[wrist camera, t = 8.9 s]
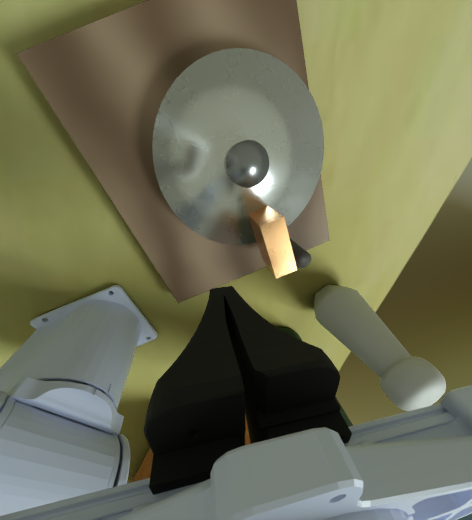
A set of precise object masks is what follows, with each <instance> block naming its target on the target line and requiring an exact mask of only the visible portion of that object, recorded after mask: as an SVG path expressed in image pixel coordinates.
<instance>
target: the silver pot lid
mask: <svg viewBox="0 0 472 520" xmlns="http://www.w3.org/2000/svg"><path fill="white" fill-rule="evenodd" d="M152 151H153V163H154V169H155V174H156V177H157V180H158V184H159V187H160V189H161V191H162V193H163V196H164V198H165V199H166V201H167V203H168V204H169V206H170V208H171V209H172V210H173V212H174V213H175V214H176V215H177V217H178V218H179V219H180V220H181V221H182V222H183V223H184V224H185V225H187V226H188V227H189V228H190V229H192V230H193V231H195V232H196V233H198V234H200V235H201V236H203V237H205V238H208V239H210V240H213V241H216V242H219V243H224V244H232V245H242V244H251V243H256V242H257V244H258V247H259V250H260V253H261V256H262V259H263V260H264V262H265V263H266V265H267V266H268V268H269V269H270V271H271V272H272V273H273V275H274V276H275V278H279V277H281V276H284V275H286V274H289V273H291V272H294V271H296V270H297V267H296V263H295V259H294V255H293V251H292V246H291V242H290V238H289V234H288V230H287V226H288V225H290V224H291V223H292V222H293V221H294V220H295V219H296V218H297V217H298V216H299V215H300V213H301V212H302V211H303V210H304V208H305V207H306V205H307V204H308V202H309V200H310V199H311V197H312V195H313V193H314V191H315V188H316V186H317V183H318V180H319V177H320V173H321V169H322V163H323V156H324V137H323V128H322V123H321V118H320V115H319V112H318V108H317V106H316V103H315V101H314V99H313V97H312V95H311V93H310V91H309V90H308V88H307V86H306V85H305V83H304V82H303V81H302V80H301V79H300V77H299V76H298V75H297V74H296V73H295V72H294V71H293V70H292V69H291V68H290V67H289V66H288V65H286V64H285V63H283V62H282V61H280V60H279V59H277V58H276V57H273V56H271V55H269V54H267V53H264V52H261V51H257V50H253V49H245V48H232V49H223V50H220V51H217V52H213V53H210V54H208V55H206V56H204V57H202V58H200V59H198V60H197V61H195V62H194V63H193V64H191V65H190V66H189V67H187V68H186V69H185V70H184V71H183V72H182V73H181V74H180V75H179V76H178V77H177V78H176V80H175V81H174V82H173V84H172V85H171V87H170V88H169V89H168V91H167V93H166V95H165V97H164V99H163V101H162V103H161V105H160V108H159V111H158V114H157V117H156V121H155V126H154V131H153V142H152Z"/></svg>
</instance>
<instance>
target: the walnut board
mask: <svg viewBox="0 0 472 520" xmlns="http://www.w3.org/2000/svg"><path fill="white" fill-rule="evenodd" d="M232 48H245V49H253V50H257V51H261V52H264V53H267V54H269V55H271V56H273V57H276V58H277V59H279V60H280V61H282V62H283V63H285V64H286V65H288V66H289V67H290V68H291V69H292V70H293V71H294V72H295V73H296V74H297V75H298V76H299V77H300V79H301V80H302V81H303V82H304V83H305V85H306V86H307V88H308V81H307V74H306V66H305V59H304V52H303V45H302V38H301V31H300V23H299V16H298V9H297V2H296V0H147V1H144V2H142V3H139V4H137V5H135V6H132V7H130V8H127V9H125V10H122V11H120V12H117V13H115V14H112V15H110V16H107V17H105V18H102V19H100V20H97V21H95V22H92V23H90V24H88V25H85V26H83V27H80V28H78V29H75V30H73V31H70V32H68V33H65V34H63V35H60V36H58V37H55V38H53V39H50V40H48V41H45V42H43V43H41V44H38V45H36V46H33V47H31V48H28V49H26V50H23V51H21V52H18V53H16V54H17V55H18V57H19V58H20V60H21V62H22V63H23V65H24V66H25V68H26V69H27V71H28V72H29V74H30V75H31V77H32V79H33V80H34V82H35V83H36V85H37V86H38V88H39V89H40V91H41V92H42V94H43V96H44V97H45V99H46V100H47V102H48V103H49V105H50V106H51V108H52V109H53V111H54V112H55V114H56V116H57V117H58V119H59V120H60V122H61V123H62V125H63V126H64V128H65V129H66V131H67V133H68V134H69V136H70V137H71V139H72V140H73V142H74V143H75V145H76V146H77V148H78V149H79V151H80V153H81V154H82V156H83V157H84V159H85V160H86V162H87V163H88V165H89V166H90V168H91V170H92V171H93V173H94V174H95V176H96V177H97V179H98V180H99V182H100V183H101V185H102V187H103V188H104V190H105V191H106V193H107V194H108V196H109V197H110V199H111V200H112V202H113V203H114V205H115V207H116V208H117V210H118V211H119V213H120V214H121V216H122V217H123V219H124V220H125V222H126V224H127V225H128V227H129V228H130V230H131V231H132V233H133V234H134V236H135V237H136V239H137V240H138V242H139V244H140V245H141V247H142V248H143V250H144V251H145V253H146V254H147V256H148V257H149V259H150V261H151V262H152V264H153V265H154V267H155V268H156V270H157V271H158V273H159V274H160V276H161V277H162V279H163V281H164V282H165V284H166V285H167V287H168V288H169V290H170V291H171V293H172V294H173V296H174V298H175V299H176V301H177V302H178V303H179V302H182V301H184V300H187V299H189V298H191V297H194V296H196V295H199V294H201V293H203V292H206V291H208V290H211V289H213V288H216V287H218V286H220V285H223V284H225V283H228V282H230V281H233V280H235V279H237V278H240V277H242V276H245V275H247V274H250V273H252V272H254V271H257V270H259V269H262V268H264V267H267V265H266V263H265V262H264V260H263V259H262V256H261V253H260V250H259V247H258V244H257V242H256V243H251V244H242V245H232V244H224V243H219V242H216V241H213V240H210V239H208V238H205V237H203V236H201V235H200V234H198V233H196V232H195V231H193V230H192V229H190V228H189V227H188V226H187V225H185V224H184V223H183V222H182V221H181V220H180V219H179V218H178V217H177V215H176V214H175V213H174V212H173V210H172V209H171V208H170V206H169V204H168V203H167V201H166V199H165V198H164V196H163V193H162V191H161V189H160V187H159V184H158V180H157V177H156V174H155V169H154V163H153V151H152V142H153V131H154V126H155V121H156V117H157V114H158V111H159V108H160V105H161V103H162V101H163V99H164V97H165V95H166V93H167V91H168V89H169V88H170V87H171V85H172V84H173V82H174V81H175V80H176V78H177V77H178V76H179V75H180V74H181V73H182V72H183V71H184V70H185V69H186V68H187V67H189V66H190V65H191V64H193V63H194V62H195V61H197V60H198V59H200V58H202V57H204V56H206V55H208V54H210V53H213V52H217V51H220V50H223V49H232ZM308 90H309V88H308ZM287 230H288V234H289V238H290V242H291V246H292V251H293V255H294V259H295V263H296V266H297V267H298V268H303V267H306V266H307V265H308V264H309V263H310V261H311V255H310V254H309V253H308V252H307V251H305V250H308V249H310V248H313V247H315V246H317V245H320V244H322V243H325V242H327V241H330V238H329V231H328V224H327V217H326V210H325V203H324V195H323V188H322V181H321V174H320V177H319V180H318V183H317V186H316V188H315V191H314V193H313V195H312V197H311V199H310V200H309V202H308V204H307V205H306V207H305V208H304V210H303V211H302V212H301V213H300V215H299V216H298V217H297V218H296V219H295V220H294V221H293V222H292V223H291V224H290V225H288V226H287Z"/></svg>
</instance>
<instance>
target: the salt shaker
mask: <svg viewBox="0 0 472 520" xmlns="http://www.w3.org/2000/svg"><path fill="white" fill-rule="evenodd" d="M314 310H315V315H316V319H317V320H318V322H319V323H320V324H321V325H322V326H323V327H325V328H326V329H327V330H328V331H329V332H330V333H331V334H333V335H334V336H335V337H336V338H337V339H338V340H339V341H341V342H342V343H343V344H344V345H345V346H346V347H347V348H348V349H349V350H351V351H352V352H353V353H354V354H355V355H356V356H357V357H358V358H360V359H361V360H362V361H363V362H364V363H365V364H366V365H367V366H369V368H371V369H372V370H373V371H374V372H375V373H376V374H377V375H378V376H380V377H381V379H380V386H381V389H382V390H383V391H384V393H385V394H386V395H387V397H388V398H389V399H390V400H391V401H392V402H393V403H394V404H396V405H397V406H398V407H399V408H400V409H403V410H406V411H412V410H416V409H420V408H424V407H428V406H431V405H432V404H434V403H435V402H436V401H438V399H439V398H440V397H441V396H442V395H443V394H444V392H445V389H446V381H445V379H444V377H443V376H442V374H441V373H440V372H439V371H438V370H437V369H436V368H435V367H434V366H433V365H432V364H430V363H429V362H428V361H426V360H424V359H422V358H419V357H411V356H410V354H409V353H408V352H407V351H406V350H405V348H404V347H403V346H402V345H401V344H400V342H399V341H398V340H397V339H396V338H395V336H394V335H393V334H392V333H391V331H390V330H389V329H388V328H387V327H386V325H385V324H384V323H383V322H382V320H381V319H380V318H379V317H378V316H377V314H376V313H375V312H374V311H373V310H372V308H371V307H370V306H369V305H368V303H367V302H366V301H365V300H364V299H363V297H362V296H361V295H360V294H359V293H358V291H356V290H354V289H351V288H348V287H343V286H339V285H326V286H325V287H323V288H322V289H321V290H319V291H318V292H317V293H316V294H315V298H314Z"/></svg>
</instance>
